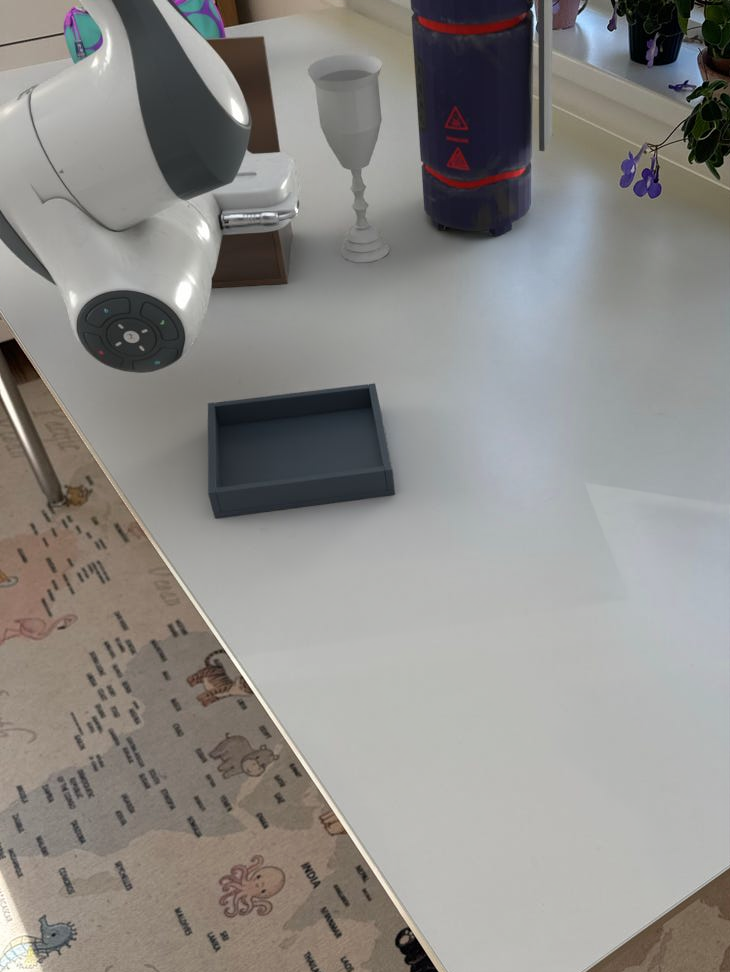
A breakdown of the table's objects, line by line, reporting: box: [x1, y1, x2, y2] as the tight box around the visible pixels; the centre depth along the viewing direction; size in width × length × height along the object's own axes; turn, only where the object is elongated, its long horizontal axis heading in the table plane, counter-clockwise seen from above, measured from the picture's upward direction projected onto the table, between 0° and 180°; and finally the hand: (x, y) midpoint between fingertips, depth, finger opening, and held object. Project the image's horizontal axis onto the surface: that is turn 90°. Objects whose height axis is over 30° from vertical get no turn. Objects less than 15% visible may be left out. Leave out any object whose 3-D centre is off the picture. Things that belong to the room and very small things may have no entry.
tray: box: [207, 383, 396, 519], centre depth 85 cm, size 14×12×2 cm
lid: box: [205, 35, 281, 154], centre depth 105 cm, size 12×12×1 cm
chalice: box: [307, 53, 390, 263], centre depth 104 cm, size 7×7×18 cm
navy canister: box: [410, 0, 553, 237], centre depth 104 cm, size 14×12×30 cm
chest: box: [211, 219, 293, 289], centre depth 107 cm, size 11×12×7 cm
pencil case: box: [63, 0, 227, 65], centre depth 145 cm, size 21×9×10 cm, turn 116°
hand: (184, 155), depth 90 cm, fingers open, 8 cm apart
